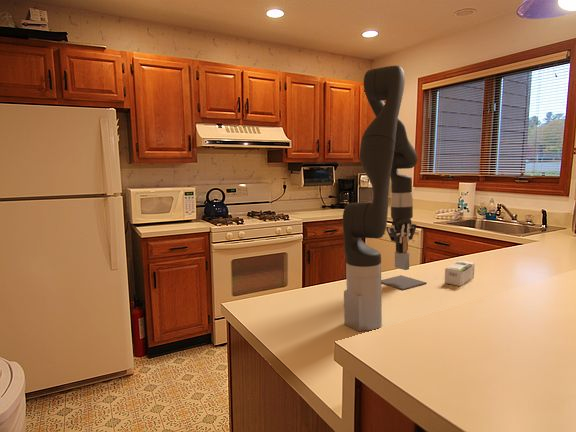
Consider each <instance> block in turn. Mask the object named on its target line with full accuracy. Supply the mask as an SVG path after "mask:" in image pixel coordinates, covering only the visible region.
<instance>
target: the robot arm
mask: <svg viewBox="0 0 576 432" xmlns="http://www.w3.org/2000/svg"><path fill="white" fill-rule="evenodd" d="M405 76H406V75H405V71H404V69H403V67H402V66H401V65H388V66H382V67H376V68H371V69H369V70H367V71H366V72H365V73H364V77H363V90H364V94H365V97H366V99H367V102H368V104H369V106H370V108H371V109H372V113H373V114H374V116H375V118H374V119H373V120H372V121H371V122H370V124H369V125H368V126H367V127H366V129H365V130H364V132H363V135H362V137H361V141H360V149H359V154H358V155H359V163H360V164H361V166H362V169H363V171H364V173H365V174H366V176H367V178H368V180H369V182H370V185H371V188H372V195H373V198H372V202H350V203H347V205H345V207H344V210H343V212H342V231H343V233H342V234H343V244H344V245H343V246H344V255H345V268H346V269H345V270H346V272H345V273H346V274H345V277H346V289H345V290H343V309H344V311H343V314H344V315H343V318H344V325H345V326H348V327H349V328H351V329H354V330H356V331H358V332H361V331H362V332H363V331H375V330H378V329H379V328H381V327H382V325H383V322H382V319H383V317H382V316H383V315H382V312H383V309H382V299H383V298H382V283H381V280H382V255H381V254H382V253H381V251H379V250H378V249H375V248H373V247H371V246H369V245H368V244H366V243H365V242H364V241H363V240H362V238H364V239H381V238H382V237H383V236H384V234H385V233H386V232H387V235H388V236H389V239H390V240H391V242H394V243H395V251H396V252H397V253H402V237H403V236H407V251H408V249H409V248H408V247H409V241H410V240H411V241H412V240H413V238H414V235H415V232H416V230H417V226H418V225H417V224H415V223H412V219H413V216H414V215H413V213H414V212H413V209H414V206H413V179H412V177H411V176H410V175H406V174H402V173H400V172H399V171H398V170H401V169H412V168H414V167H416V165H417V163H418V154H417V151H416V149H415V147H414V146H413V145H412V143H411V142H410V140H409V139H408V134H407V131H406V126H405V124H404V122H403V121H402V119H401V118H400V117H399V114H400V110H401V104H402V102H403V101H402V100H403V95H404V92H405V91H404V89H405V81H406V78H405ZM384 101H385V102H384ZM390 184H391V185H390ZM390 186H391V187H390ZM390 189H391V195H389V193H390V192H389V191H390ZM389 196H390V218H391V219H392V222H391V225H390V226H387V224H388V214H389V213H388V211H389V210H388V209H389ZM398 236H399V239H398ZM377 328H378V329H377ZM374 329H375V330H374Z"/></svg>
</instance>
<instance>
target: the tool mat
mask: <svg viewBox="0 0 576 432" xmlns="http://www.w3.org/2000/svg"><path fill="white" fill-rule="evenodd" d="M381 284H383V285H386V286H389V287H392V288H395V289H398V290H401V291H405V290H409V289H412V288H416V287H420V286H423V285H426V284H427V282H426V281H423V280H420V279H415V278H412V277H408V276H405V275H397V276H392V277H389V278H385V279H384V278H383V279H381Z"/></svg>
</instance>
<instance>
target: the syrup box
mask: <svg viewBox="0 0 576 432" xmlns="http://www.w3.org/2000/svg"><path fill="white" fill-rule="evenodd" d="M474 277H475V262H471V261H465V260H464V261H463V260H458V261H456V262H454V263H452V264H450V265H449V266H446V267H445V268H444V284H448V285H452V286H458V287H462V286H463V285H464V284H465V283H467V282H468V281H470V280H471V279H473V278H474Z"/></svg>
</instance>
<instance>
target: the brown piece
mask: <svg viewBox="0 0 576 432" xmlns="http://www.w3.org/2000/svg"><path fill="white" fill-rule="evenodd" d="M398 239H399V236H398ZM394 268H395V269H400V270H402V271H408V270H410V252H408V250H407V236H403V237H402V253H397V252H396V250H394Z"/></svg>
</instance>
